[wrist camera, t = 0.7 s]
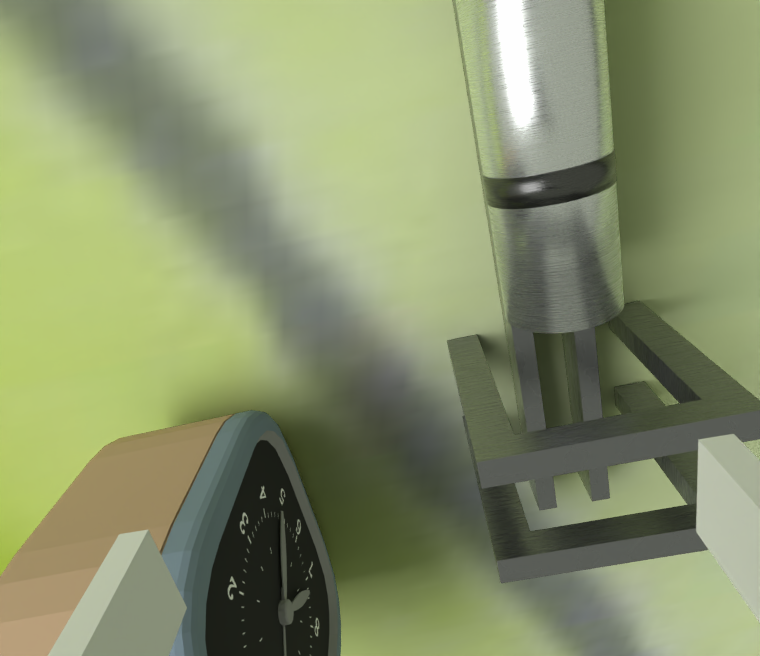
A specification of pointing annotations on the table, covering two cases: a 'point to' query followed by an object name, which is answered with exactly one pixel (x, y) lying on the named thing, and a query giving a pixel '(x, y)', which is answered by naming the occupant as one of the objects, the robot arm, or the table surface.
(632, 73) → the table surface
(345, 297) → the table surface
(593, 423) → the gray metal rack
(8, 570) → the alarm clock
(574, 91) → the tube
